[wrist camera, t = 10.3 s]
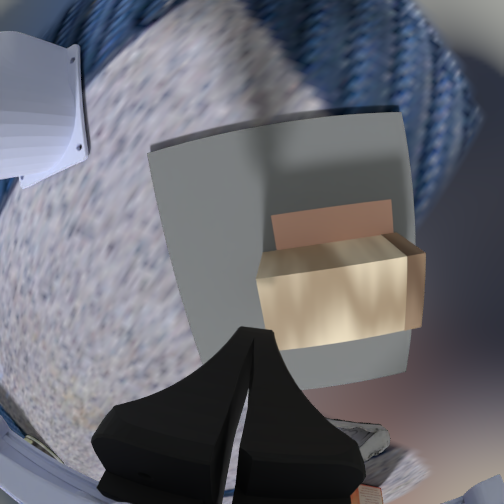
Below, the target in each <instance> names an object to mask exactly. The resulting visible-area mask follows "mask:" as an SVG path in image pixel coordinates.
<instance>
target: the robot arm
mask: <svg viewBox="0 0 504 504" xmlns="http://www.w3.org/2000/svg"><path fill="white" fill-rule="evenodd" d="M74 59H75V61H74ZM73 61H74V62H73ZM80 145H82V148H81V150H80ZM87 157H88V146H87V138H86V131H85V122H84V113H83V102H82V89H81V69H80V46H79V45H77V44H74V45H72V46H70V47H69V48H67V49H66V48H64V47H61V46H58V45H56V44H53V43H50V42H47V41H44V40H41V39H39V38H35V37H32V36H29V35H26V34H23V33H20V32H15V31H4V32H0V179H6V178H11V177H17V176H19V181H20V186H21V188H23V189H25V188H28V187H30V186H32V185H34V184H35V183H37V182H39V181H41V180H43V179H45V178H47V177H50V176H52V175H54V174H56V173H58V172H60V171H62V170H64V169H67V168H69V167H71V166H73V165H76V164H78V163H80V162H83V161H85V160H86V159H87ZM248 389H249V393H248V409H247V414H246V419H245V424H244V429H243V434H242V438H241V443H240V448H239V457H238V466H237V476H236V485H235V490H234V495H233V501H232V504H351V495H352V493H353V492H354V491H355V490H356V489H357V488H358V487H359V486H360V484H361V483H362V482H363V480H364V479H365V477H366V471H365V464H364V460H363V457H362V454H361V452H360V449H359V446H358V444H357V442H356V441H355V440H353V439H352V438H350V437H349V436H348V435H346V434H345V433H343V432H342V431H340V430H339V429H338V428H336V427H335V426H334V425H333V424H332V423H330V422H329V421H328V420H327V419H326V418H325V417H324V416H323V415H322V414H321V413H320V412H319V411H318V410H317V409H316V408H315V407H314V406H313V405H312V404H311V403H310V401H309V400H308V399H307V398H306V396H305V395H304V394H303V392H302V391H301V390H300V388H299V387H298V385H297V384H296V382H295V381H294V379H293V377H292V376H291V374H290V372H289V370H288V369H287V367H286V365H285V362H284V360H283V358H282V356H281V354H280V351H279V349H278V346H277V343H276V339H275V335H274V332H273V331H272V330H269V329H260V328H252V327H244V326H240V327H239V328H238V329H237V330H236V332H235V333H234V334H233V336H232V337H231V338H230V339H229V340H228V342H227V343H226V344H225V345H224V346H223V347H222V348H221V349H220V350H219V351H218V352H217V353H216V354H215V355H214V356H213V357H212V358H210V359H209V360H208V361H207V362H206V363H205V364H204V365H202V366H201V367H200V368H198V369H197V370H196V371H194V372H193V373H192V374H190V375H189V376H187V377H186V378H184V379H182V380H181V381H179V382H177V383H175V384H174V385H172V386H170V387H168V388H166V389H164V390H162V391H159V392H157V393H155V394H152V395H150V396H147V397H144V398H141V399H138V400H135V401H131V402H127V403H124V404H120V405H115V406H114V407H113V408H112V410H111V411H110V412H109V413H108V414H107V415H106V417H105V418H104V419H103V421H102V422H101V424H100V425H99V427H98V429H97V430H96V432H95V433H94V435H93V436H92V439H91V443H92V446H93V448H94V451H95V453H96V454H97V456H98V458H99V459H100V461H101V463H102V464H103V466H104V467H105V469H106V471H105V472H104V474H103V476H102V478H101V480H100V482H98V481H96V480H94V479H92V478H90V477H88V476H86V475H84V474H82V473H80V472H78V471H76V470H74V469H72V468H70V467H68V466H66V465H64V464H63V463H61V462H59V461H57V460H56V459H54V458H52V457H51V456H49V455H47V454H46V453H44V452H42V451H41V450H39V449H38V448H36V447H35V446H33V445H32V444H30V443H29V442H27V441H26V440H24V439H23V438H21V437H20V436H18V435H17V434H16V433H14V432H13V431H12V430H10V429H9V427H8V425H7V423H6V422H5V420H4V419H3V418H2V417H1V415H0V488H1V489H2V490H4V491H5V492H6V493H7V494H8V495H10V496H11V497H12V498H13V499H14V500H16V501H17V502H18V503H20V504H222V500H223V495H224V489H225V484H226V479H227V473H228V468H229V463H230V458H231V452H232V447H233V442H234V437H235V433H236V429H237V426H238V423H239V419H240V416H241V413H242V409H243V406H244V403H245V399H246V396H247V392H248ZM441 504H504V483H503V480H502V478H501V476H500V474H499V475H496V476H494V477H491V478H489V479H487V480H485V481H482V482H480V483H478V484H477V485H475V486H473V487H472V488H471V489H469V490H468V491H467V492H466V493H465V494H464V495H463V496H461V497H459V498H456V499H453V500H451V501H447V502H444V503H441Z"/></svg>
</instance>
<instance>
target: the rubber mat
mask: <svg viewBox="0 0 504 504" xmlns="http://www.w3.org/2000/svg"><path fill="white" fill-rule="evenodd" d="M147 156H148V161H149V166H150V171H151V177H152V182H153V186H154V191H155V196H156V201H157V205H158V210H159V214H160V218H161V223H162V227H163V231H164V235H165V239H166V243H167V247H168V251H169V255H170V259H171V263H172V266H173V270H174V274H175V277H176V281H177V284H178V288H179V291H180V295H181V298H182V302H183V305H184V308H185V312H186V315H187V318H188V321H189V325H190V328H191V331H192V334H193V337H194V340H195V343H196V346H197V349H198V352H199V355H200V358H201V361H202V364H203V365H204V364H205V363H206V362H207V361H208V360H209V359H210V358H212V357H213V356H214V355H215V354H216V353H217V352H218V351H219V350H220V349H221V348H222V347H223V346H224V345H225V344H226V343H227V342H228V340H229V339H230V338H231V337H232V336H233V334H234V333H235V332H236V330H237V329H238V328H239V327H240V326H244V327H252V328H260V329H265V324H264V319H263V313H262V308H261V303H260V298H259V293H258V288H257V283H256V276H257V273H258V269H259V265H260V261H261V257H262V253H263V252H268V251H275V250H282V249H289V248H296V247H302V246H309V245H316V244H323V243H330V242H337V241H343V240H350V239H357V238H364V237H371V236H377V235H381V234H388V233H395V232H397V233H398V234H400V235H401V236H403V237H404V238H405V239H407V240H408V241H410V242H411V243H413V244H414V245H415V217H414V201H413V189H412V179H411V170H410V162H409V154H408V147H407V141H406V135H405V129H404V124H403V118H402V113H401V112H387V113H365V114H351V115H339V116H328V117H319V118H311V119H303V120H295V121H288V122H282V123H275V124H269V125H263V126H258V127H252V128H247V129H242V130H237V131H232V132H227V133H223V134H218V135H214V136H210V137H205V138H201V139H197V140H193V141H189V142H185V143H182V144H178V145H174V146H171V147H167V148H164V149H160V150H157V151H153V152H150V153H147ZM411 330H412V329H410V330H406V331H404V330H403V331H399V332H394V333H390V334H385V335H380V336H375V337H369V338H364V339H358V340H353V341H347V342H340V343H334V344H327V345H320V346H313V347H306V348H297V349H289V350H280V354H281V356H282V358H283V360H284V362H285V365H286V367H287V369H288V370H289V372H290V374H291V376H292V377H293V379H294V381H295V382H296V384H297V385H298V387H299V388H300V390H305V389H314V388H322V387H329V386H336V385H342V384H348V383H354V382H360V381H365V380H370V379H375V378H379V377H384V376H389V375H394V374H398V373H402V372H406V368H407V361H408V354H409V347H410V339H411ZM248 393H249V389H248V392H247V394H248Z"/></svg>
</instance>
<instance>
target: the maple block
mask: <svg viewBox="0 0 504 504" xmlns="http://www.w3.org/2000/svg"><path fill="white" fill-rule="evenodd" d="M425 262H426V253H425V252H424V251H422V250H421V249H419V248H418V247H417V246H415V245H414V244H413V243H411V242H410V241H408V240H407V239H405V238H404V237H403V236H401V235H400V234H398V233H397V232H395V233H388V234H381V235H377V236H371V237H364V238H357V239H350V240H343V241H337V242H330V243H323V244H316V245H309V246H302V247H296V248H289V249H282V250H275V251H268V252H263V253H262V257H261V261H260V265H259V269H258V273H257V276H256V283H257V288H258V293H259V298H260V303H261V308H262V313H263V319H264V324H265V329H269V330H272V331H273V332H274V335H275V339H276V343H277V346H278V349H279V351H280V350H289V349H297V348H306V347H313V346H320V345H327V344H334V343H340V342H347V341H353V340H358V339H364V338H369V337H375V336H380V335H385V334H390V333H394V332H399V331H403V330H404V331H406V330H410V329H415V328H419V327H421V325H422V315H423V303H424V288H425V265H426V264H425Z"/></svg>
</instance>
